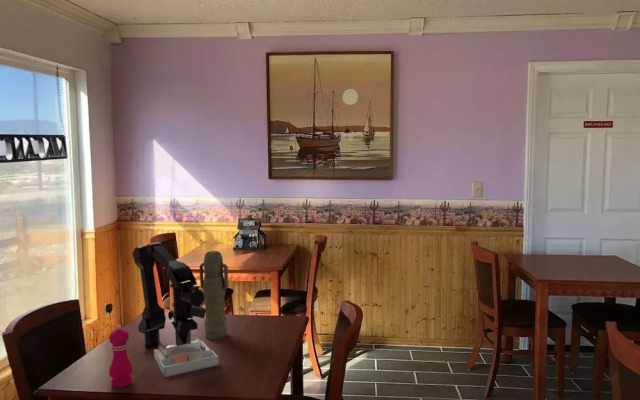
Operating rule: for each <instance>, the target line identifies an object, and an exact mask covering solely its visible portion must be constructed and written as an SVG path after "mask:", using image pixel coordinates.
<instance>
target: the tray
mask: <svg viewBox="0 0 640 400" xmlns="http://www.w3.org/2000/svg"><path fill="white" fill-rule="evenodd" d="M201 356H202V359H198V360H193V361H189V360H188V362H184V363H179V364H174V360H173V359H171V360H166V361H161V360H159V364H158V367H159V370H160V372H161V373H162V375H163V377H164V378H167V377H171V376H177V375H180V374H185V373H189V372H195V371H199V370H203V369H208V368H212V367H218V366H219V365H220V357H219V355H217V354H216V353H215V351H214V350H213V349H210V352H205V353H201ZM187 359H188V357H187Z"/></svg>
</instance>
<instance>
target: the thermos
mask: <svg viewBox="0 0 640 400" xmlns="http://www.w3.org/2000/svg"><path fill="white" fill-rule="evenodd" d="M223 262H224V259H223V256H222V253H221V252H220V251H218V250H214V251H213V250H210V251H207V252H206V253H205V255H204V259H203V262H201V264H200V265H199V283H200V284H199V285H200V289H202V292H203V294H204V306H205V307H204V308H205V309H206V313H205V318H204V333H205V339H207V340H212V341H213V340H214V341H216V340H222V339H225V338H226V337H227V331H228V325H227V323H228V321H227V317H226V304H225V301H226V300H225V295H226V290H227V289H228V288H229V267H228V265H227V264H226V263H223Z"/></svg>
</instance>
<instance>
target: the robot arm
mask: <svg viewBox="0 0 640 400" xmlns="http://www.w3.org/2000/svg"><path fill="white" fill-rule="evenodd" d="M132 258H133V260H134V261H133V262H134V264H135V265H136V266H137V268H138V269H139V271H140V280H141V285H142V292H143V299H144V301H143V302H144V309H143V310H142V313H141V320H140V323H138V326H137V329H138V332H139V333H141V334H144V335H143V337H144V342H142V346H143V348H144V349H145V350H149V349H154V348H155V349H156V348H158V345H162V346H163V343H162V342H161V338H160V337H161V336H160V330H164V329H165V327H166V320H167V318H166V313H165V308H163V307H161V305H160V304H159V301H158V300H159V299H158V294H157V293H158V292H157V285H156V284H157V283H156V280H155V279H156V278H155V271H154V266H155V264H156V262H158V263H159V264H160V265H161V267H163V268H164V269H165V271H166V277H167V278H168V280H169V281H170V282H171V284H169V287H170V288H171V289H172V301H173V302H172V303H171V306H172V307H173V309H170V310H169V311H168V313H167V317H168V319H169V320H172V319H173V321H171V324H172V326H173V328H174V330H175V331H177V332H178V334H179V337H180V339H181V341H182V343H183V344H185V343H186V340H187V336H188V332H189V330H190V331H194V330H197V329H198V328H199V327H198V322H197V321H196V320H195V319H194V317H196V318H200V319H205V317H206V309H205V307H203V306H201V304H203V302H204V301H205V297H204V292H203V290H201V289H200V286H199V285H198V282H197V278H196V277H195V275H194V273H193V271H192V269H191V267H190V266H189V265H187V264H186V263H185V262H182V261H178V260H177V259H176V258H175V257H174V256H173V255H171V253H170V252H169V251H168V250H167V249H166V248H165V247H164V246H163V243H162V242H158V241H157V242H152V243H149V244H147V245H142V246H136V247H135V248H134V250H133V251H132Z"/></svg>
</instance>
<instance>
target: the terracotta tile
mask: <svg viewBox="0 0 640 400" xmlns="http://www.w3.org/2000/svg"><path fill="white" fill-rule="evenodd" d="M173 360H174V364H179V363H184V362H188V359H187V356H186V354H185V355H180V356H175V357H173Z"/></svg>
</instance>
